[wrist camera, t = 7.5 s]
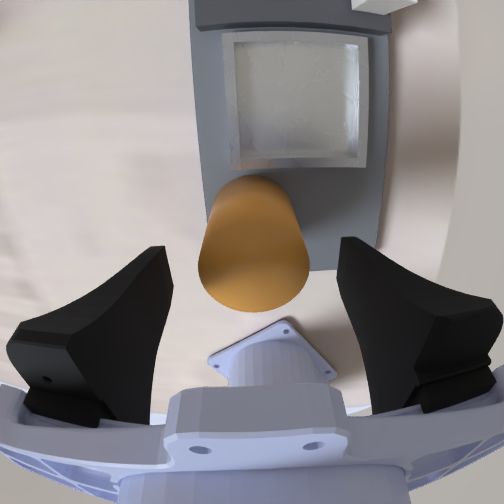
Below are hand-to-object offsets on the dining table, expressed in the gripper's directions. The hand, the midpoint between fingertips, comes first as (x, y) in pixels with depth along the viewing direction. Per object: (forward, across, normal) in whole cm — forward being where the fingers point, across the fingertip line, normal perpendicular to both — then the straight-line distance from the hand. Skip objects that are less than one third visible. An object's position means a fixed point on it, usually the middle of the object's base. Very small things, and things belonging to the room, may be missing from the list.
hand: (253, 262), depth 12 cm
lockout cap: (+5, 0, 0) cm, 5 cm away
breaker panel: (+7, -3, -6) cm, 9 cm away
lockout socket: (+5, -2, -6) cm, 8 cm away
